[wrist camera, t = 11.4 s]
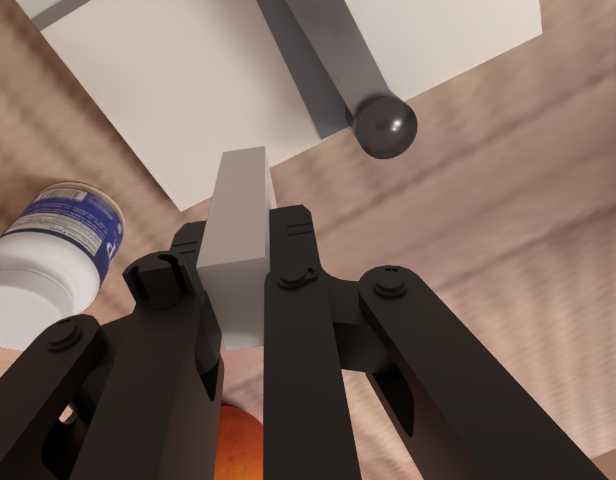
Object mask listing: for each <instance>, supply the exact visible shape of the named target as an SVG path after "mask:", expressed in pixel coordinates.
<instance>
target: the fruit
mask: <svg viewBox="0 0 616 480" xmlns="http://www.w3.org/2000/svg"><path fill="white" fill-rule="evenodd" d="M214 480H263V425H262V424H261V423H260V422H259V421H258V420H257V419H256V418H255V417H253V416H252V415H251V414H249V413H247V412H245V411H242V410H240V409H237V408H235V407H231V406H221V410H220V420H219V430H218V441H217V451H216V461H215V471H214Z"/></svg>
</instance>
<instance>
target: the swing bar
mask: <svg viewBox="0 0 616 480" xmlns="http://www.w3.org/2000/svg"><path fill="white" fill-rule="evenodd" d="M284 1H285V3H286V5H287V7H288V8H289V10H290V12H291V13H292V15H293V17H294V19H295V20H296V22H297V24H298V25H299V27H300V29H301V30H302V32H303V34H304V36H305V37H306V39H307V41H308V42H309V44H310V46H311V47H312V49H313V51H314V53H315V54H316V56H317V58H318V59H319V61H320V63H321V65H322V66H323V68H324V70H325V71H326V73H327V75H328V76H329V78H330V80H331V82H332V83H333V85H334V87H335V88H336V90H337V92H338V94H339V95H340V97H341V99H342V100H343V102H344V104H345V105H346V111H345V116H346V121H347V124H348V126H349V127H350V129H351V130H352V132H353V134H354V135H355V137H356V139H357V140H358V142H359V143H360V145H361V147H362V148H363V150H364V151H365V152H366V153H367V154H368V155H370V156H372V157H374V158H377V159H390V158H394V157H396V156H398V155H400V154H402V153H403V152H404V151H405V150H407V149H408V147H409V146H410V145H411V144H412V142H413V140H414V138H415V136H416V132H417V119H416V116H415V113H414V112H413V110H412V109H411V108H410V107H409V106H408V105H407V104H406V103H404V102H403V101H402V100H401V99H400V98H399V97H398V96H396V95H395V94H394V93H393V92H392V91H391V90H390V89H389V88H388V86H387V84H386V82H385V80H384V78H383V76H382V74H381V72H380V70H379V68H378V66H377V64H376V62H375V60H374V58H373V56H372V54H371V52H370V50H369V48H368V46H367V44H366V42H365V40H364V38H363V36H362V34H361V32H360V30H359V28H358V26H357V24H356V22H355V20H354V18H353V16H352V14H351V12H350V10H349V8H348V6H347V4H346V2H345V0H284Z"/></svg>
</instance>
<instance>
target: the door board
mask: <svg viewBox="0 0 616 480" xmlns="http://www.w3.org/2000/svg"><path fill="white" fill-rule="evenodd" d="M16 2H17V3H18V4H19V6H20V7H21V8H22V9H23V11H24V12H25V13H26V14H27V16H28V17H29V18H30V21H31V22H32V24H33V25H34V26H35V28H36V29H37V30H38V31H39V32H41V34H42V35H43V36H44V37H45V39H46V40H47V41H48V43H49V44H50V45H51V46H52V48H53V49H54V50H55V52H56V53H57V54H58V55H59V57H60V58H61V59H62V60H63V62H64V63H65V64H66V66H67V67H68V68H69V69H70V71H71V72H72V73H73V75H74V76H75V77H76V78H77V80H78V81H79V82H80V84H81V85H82V86H83V87H84V89H85V90H86V91H87V92H88V94H89V95H90V96H91V98H92V99H93V100H94V101H95V103H96V104H97V105H98V107H99V108H100V109H101V110H102V112H103V113H104V114H105V115H106V117H107V118H108V119H109V121H110V122H111V123H112V124H113V126H114V127H115V128H116V130H117V131H118V132H119V133H120V135H121V136H122V137H123V138H124V140H125V141H126V142H127V144H128V145H129V146H130V147H131V149H132V150H133V151H134V153H135V154H136V155H137V156H138V158H139V159H140V160H141V161H142V163H143V164H144V165H145V167H146V168H147V169H148V170H149V172H150V173H151V174H152V176H153V177H154V178H155V179H156V181H157V182H158V183H159V184H160V186H161V187H162V188H163V190H164V191H165V192H166V193H167V195H168V196H169V197H170V199H171V200H172V201H173V202H174V204H175V205H176V206H177V207H178V209H179V210H180V211H181V212H182V211H184V210H186V209H188V208H190V207H192V206H194V205H196V204H198V203H200V202H202V201H204V200H206V199H208V198H210V197H212V196H213V192H214V188H215V183H216V179H217V175H218V170H219V166H220V162H221V157H222V153H223V152H227V151H234V150H240V149H247V148H253V147H260V146H265V149H266V154H267V159H268V164H269V168H271V167H273V166H275V165H277V164H279V163H281V162H283V161H285V160H287V159H289V158H291V157H293V156H295V155H297V154H299V153H301V152H303V151H305V150H307V149H309V148H311V147H314V146H316V145H318V144H320V143H322V142H324V141H326V140H328V139H330V138H332V137H334V136H336V135H338V134H340V133H342V132H344V131H346V130H348V129H350V127H349V126H348V124H347V121H346V116H345V111H346V105H345V104H344V102H343V100H342V99H341V97H340V95H339V94H338V92H337V90H336V88H335V87H334V85H333V83H332V82H331V80H330V78H329V76H328V75H327V73H326V71H325V70H324V68H323V66H322V65H321V63H320V61H319V59H318V58H317V56H316V54H315V53H314V51H313V49H312V47H311V46H310V44H309V42H308V41H307V39H306V37H305V36H304V34H303V32H302V30H301V29H300V27H299V25H298V24H297V22H296V20H295V19H294V17H293V15H292V13H291V12H290V10H289V8H288V7H287V5H286V3H285V1H284V0H16ZM345 2H346V4H347V6H348V8H349V10H350V12H351V14H352V16H353V18H354V20H355V22H356V24H357V26H358V28H359V30H360V32H361V34H362V36H363V38H364V40H365V42H366V44H367V46H368V48H369V50H370V52H371V54H372V56H373V58H374V60H375V62H376V64H377V66H378V68H379V70H380V72H381V74H382V76H383V78H384V80H385V82H386V84H387V86H388V88H389V89H390V90H391V91H392V92H393V93H394V94H395V95H396V96H398V97H399V98H400V99H401V100H402V101H403V102H405V101H407V100H409V99H411V98H413V97H415V96H417V95H419V94H421V93H423V92H425V91H427V90H429V89H431V88H433V87H435V86H437V85H439V84H441V83H443V82H445V81H447V80H449V79H451V78H453V77H455V76H457V75H460V74H462V73H464V72H466V71H468V70H470V69H472V68H474V67H476V66H478V65H480V64H482V63H484V62H486V61H488V60H490V59H492V58H494V57H496V56H498V55H500V54H502V53H504V52H506V51H508V50H510V49H512V48H514V47H516V46H518V45H520V44H522V43H524V42H526V41H528V40H530V39H533V38H535V37H537V36H539V35H541V34H542V25H541V15H540V5H539V0H345Z"/></svg>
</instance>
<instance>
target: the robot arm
mask: <svg viewBox="0 0 616 480" xmlns="http://www.w3.org/2000/svg"><path fill="white" fill-rule="evenodd" d="M122 276H123V278H124V280H125V281H126V283H127V285H128V287H129V289H130V291H131V293H132V295H133V297H134V299H135V301H136V305H135V308H134V311H133V313H131V314H129V315H127V316H125V317H122V318H120V319H117V320H114V321H112V322H109V323H106V324H104V325H101V326H100V324H99V323H98V321H97V320H96V319H95V318H94V317H93V316H91V315H86V314H80V315H72V316H69V317H67V318H64V319H61V320H59V321H57V322H56V323H54V324H52V325H50V326H49V327H47V328H46V329H45V330H44V331H43V332H42V333H41V334H39V335H38V336H37V337H36V338H35V340H34V341H33V342H32V343H31V344H30V345H29V346H28V347H27V348H26V350H25V351H24V352H23V353H22V354H21V355H20V356H19V357H18V359H17V360H16V361H15V362H14V363H13V364H12V365H11V366H10V368H9V369H8V370H7V371H6V372H5V373H4V374H3V375H2V376H1V378H0V480H214V471H215V461H216V451H217V441H218V430H219V420H220V410H221V400H222V389H223V379H224V363H223V360H222V357H221V354H220V346H221V338H222V341H223V343H224V346H225V349H226V351H231V350H238V349H244V348H250V347H257V346H263V345H264V394H263V480H362V478H361V473H360V467H359V462H358V457H357V451H356V446H355V441H354V435H353V430H352V425H351V419H350V414H349V409H348V403H347V398H346V393H345V387H344V382H343V377H342V371H341V369H345V370H352V371H360V372H365V374H366V377H367V378H368V380H369V382H370V384H371V386H372V387H373V389H374V391H375V393H376V395H377V396H378V398H379V400H380V402H381V404H382V405H383V407H384V409H385V411H386V412H387V414H388V416H389V418H390V420H391V421H392V423H393V425H394V427H395V429H396V430H397V432H398V434H399V436H400V438H401V439H402V441H403V443H404V445H405V447H406V448H407V450H408V452H409V454H410V455H411V457H412V459H413V461H414V463H415V464H416V466H417V468H418V470H419V472H420V473H421V475H422V477H423V479H424V480H608V478H607V477H606V476H605V475H604V474H603V473H602V472H601V471H600V470H599V469H598V468H597V467H596V466H595V464H594V463H593V462H592V461H591V460H590V459H589V458H588V457H587V456H586V455H585V454H584V453H583V452H582V451H581V449H580V448H579V447H578V446H577V445H576V444H575V443H574V442H573V441H572V440H571V439H570V438H569V437H568V436H567V434H566V433H565V432H564V431H563V430H562V429H561V428H560V427H559V426H558V425H557V424H556V423H555V422H554V421H553V419H552V418H551V417H550V416H549V415H548V414H547V413H546V412H545V411H544V410H543V409H542V408H541V407H540V406H539V404H538V403H537V402H536V401H535V400H534V399H533V398H532V397H531V396H530V395H529V394H528V393H527V392H526V391H525V389H524V388H523V387H522V386H521V385H520V384H519V383H518V382H517V381H516V380H515V379H514V378H513V377H512V376H511V374H510V373H509V372H508V371H507V370H506V369H505V368H504V367H503V366H502V365H501V364H500V363H499V362H498V361H497V359H496V358H495V357H494V356H493V355H492V354H491V353H490V352H489V351H488V350H487V349H486V348H485V347H484V346H483V344H482V343H481V342H480V341H479V340H478V339H477V338H476V337H475V336H474V335H473V334H472V333H471V332H470V331H469V329H468V328H467V327H466V326H465V325H464V324H463V323H462V322H461V321H460V320H459V319H458V318H457V317H456V316H455V314H454V313H453V312H452V311H451V310H450V309H449V308H448V307H447V306H446V305H445V304H444V303H443V302H442V301H441V299H440V298H439V297H438V296H437V295H436V294H435V293H434V292H433V291H432V290H431V289H430V288H429V287H428V286H427V284H426V283H425V282H424V281H423V280H422V279H421V278H420V277H419V276H418V275H417V274H415V273H414V272H413V271H411V270H409V269H406V268H403V267H400V266H391V265H386V266H380V267H375V268H373V269H371V270H369V271H367V272H366V273H365V274H364V275H363V276H362V277H361V278H360V280H359V282H358V281H347V280H341V279H338V278H335V277H332V276H331V275H329V274H327V273H326V272H325V271H324V270H323V268H322V266H321V264H320V259H319V254H318V249H317V243H316V238H315V233H314V227H313V222H312V217H311V212H310V211H309V210H308V209H307V208H305V207H304V206H303V205H295V206H289V207H282V208H277V205H276V200H275V195H274V190H273V185H272V180H271V174H270V169H269V164H268V159H267V154H266V149H265V146H260V147H253V148H247V149H240V150H234V151H227V152H223V153H222V157H221V162H220V166H219V170H218V175H217V179H216V183H215V188H214V192H213V196H212V201H211V205H210V209H209V214H208V218H207V220H206V221H199V222H193V223H186V224H184V225H183V226H182V227H181V228H180V230H179V231H178V232H177V233H176V234H175V236H174V238H173V241H172V244H171V247H170V250H169V251H159V252H155V253H151V254H148V255H146V256H144V257H141V258H139V259H137V260H136V261H135V262H133V263H132V264H131V265H129V266H128V267H127V268H126V270H125V271H124V272H123V274H122ZM67 405H68V406H69V407H70V408H71V409H72V411H73V412H72V414H71V415H70V416H69V417H68V419H67V420H66V421H65V422H61V421H60V420H59V417H60V416H61V414H62V413H63V411H64V410H65V408H66V407H67Z"/></svg>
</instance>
